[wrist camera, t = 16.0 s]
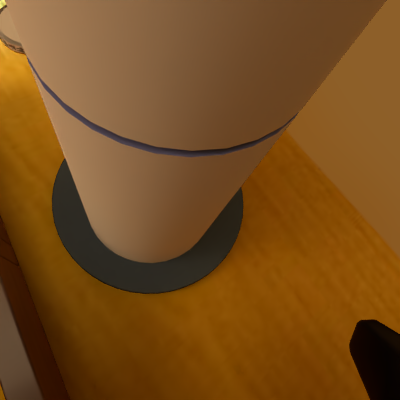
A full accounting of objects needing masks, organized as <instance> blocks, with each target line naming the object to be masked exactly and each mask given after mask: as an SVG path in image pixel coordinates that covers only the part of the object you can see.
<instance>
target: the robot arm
mask: <svg viewBox="0 0 400 400" xmlns="http://www.w3.org/2000/svg"><path fill="white" fill-rule="evenodd" d="M349 348H350V353H351V356H352V358H353V360H354V363H355V365H356V367H357V370H358V372H359V375H360V377H361V379H362V382H363V384H364V386H365V389H366V391H367V393H368V396H369V398H370V400H400V334H398V333H397V332H395V331H393V330H392V329H390V328H389V327H387V326H385V325H384V324H382V323H380V322H379V321H377V320H373V319H371V320H360V321H359V322H358V323H357V324H356V327H355V330H354V332H353V335H352V338H351V340H350V344H349Z"/></svg>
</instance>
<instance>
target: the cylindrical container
mask: <svg viewBox="0 0 400 400" xmlns="http://www.w3.org/2000/svg"><path fill="white" fill-rule="evenodd" d="M5 2H6V4H7V7H8V10H9V12H10V15H11V17H12V20H13V23H14V25H15V28H16V31H17V33H18V36H19V39H20V41H21V44H22V46H23V49H24V52H25V54H26V56H27V59H28V62H29V65H30V67H31V70H32V73H33V75H34V78H35V80H36V83H37V86H38V88H39V91H40V94H41V96H42V99H43V101H44V104H45V107H46V109H47V112H48V114H49V117H50V120H51V122H52V125H53V127H54V130H55V133H56V135H57V138H58V141H59V143H60V146H61V148H62V151H63V154H64V156H65V159H66V161H67V164H68V167H69V169H70V172H71V174H72V177H73V180H74V182H75V185H76V188H77V190H78V193H79V196H80V198H81V201H82V203H83V206H84V209H85V211H86V214H87V217H88V219H89V222H90V225H91V227H92V229H93V230H94V232H95V234H96V236H97V237H98V238H99V240H100V241H101V242H102V243H103V244H104V245H105V246H106V247H107V248H109V249H110V250H111V251H113V252H114V253H115V254H117V255H119V256H121V257H124V258H126V259H129V260H132V261H136V262H143V263H157V262H164V261H168V260H171V259H173V258H176V257H179V256H180V255H182V254H183V253H185V252H187V251H188V250H190V249H191V248H192V247H193V246H194V245H195V244H196V243H197V242H198V241H199V240H200V238H201V237H202V236H203V234H204V233H205V232H206V231H207V229H208V228H209V227H210V225H211V224H212V223H213V222H214V220H215V219H216V218H217V216H218V215H219V214H220V213H221V211H222V210H223V209H224V207H225V206H226V205H227V204H228V202H229V201H230V200H231V199H232V197H233V196H234V195H235V193H236V192H237V191H238V190H239V188H240V187H241V186H242V184H243V183H244V182H245V181H246V179H247V178H248V177H249V176H250V174H251V173H252V172H253V170H254V169H255V168H256V167H257V165H258V164H259V163H260V162H261V160H262V159H263V158H264V156H265V155H266V154H267V153H268V151H269V150H270V149H271V148H272V146H273V145H274V144H275V142H276V141H277V140H278V139H279V137H280V136H281V135H282V133H283V132H284V131H285V130H286V128H287V127H288V126H289V125H290V123H291V122H292V121H293V119H294V118H295V116H296V115H297V114H298V113H299V111H300V110H301V109H302V108H303V107H304V105H305V104H306V103H307V102H308V100H309V99H310V98H311V96H312V95H313V94H314V93H315V91H316V90H317V89H318V87H319V86H320V85H321V84H322V82H323V81H324V80H325V78H326V77H327V76H328V75H329V73H330V72H331V71H332V70H333V68H334V67H335V66H336V64H337V63H338V62H339V61H340V59H341V58H342V56H343V55H344V54H345V53H346V52H347V50H348V49H349V48H350V46H351V45H352V44H353V43H354V41H355V40H356V39H357V37H358V36H359V35H360V33H361V32H362V31H363V30H364V28H365V27H366V26H367V25H368V23H369V22H370V21H371V19H372V18H373V17H374V16H375V14H376V13H377V12H378V11H379V9H380V8H381V7H382V5H383V4H384V3H385V2H386V0H5Z"/></svg>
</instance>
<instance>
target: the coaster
mask: <svg viewBox="0 0 400 400" xmlns="http://www.w3.org/2000/svg"><path fill="white" fill-rule="evenodd" d="M52 211H53V217H54V223H55V226H56V229H57V232H58V235H59V237H60V239H61V241H62V243H63V245H64V247H65V248H66V249H67V251H68V252H69V254H70V255H71V257H72V258H73V259H74V260H75V261H76V262H77V263H78V264H79V265H80V266H81V267H82V268H83V269H84V270H85V271H86V272H88V273H89V274H90V275H92V276H93V277H95V278H96V279H98V280H100V281H101V282H103V283H105V284H107V285H110V286H112V287H115V288H117V289H121V290H125V291H129V292H135V293H143V294H149V293H163V292H170V291H174V290H177V289H181V288H184V287H186V286H188V285H191V284H193V283H195V282H197V281H198V280H200V279H202V278H203V277H205V276H206V275H208V274H209V273H210V272H211V271H212V270H214V269H215V268H216V267H217V266H218V265H219V264H220V263H221V262H222V261H223V260H224V258H225V257H226V256H227V254H228V253H229V251H230V250H231V248H232V246H233V244H234V242H235V240H236V239H237V236H238V233H239V230H240V227H241V222H242V217H243V196H242V190H241V187H240V188H239V190H238V191H237V192H236V193H235V195H234V196H233V197H232V199H231V200H230V201H229V202H228V204H227V205H226V206H225V207H224V209H223V210H222V211H221V213H220V214H219V215H218V216H217V218H216V219H215V220H214V222H213V223H212V224H211V225H210V227H209V228H208V229H207V231H206V232H205V233H204V234H203V236H202V237H201V238H200V240H199V241H198V242H197V243H196V244H195V245H194V246H193V247H192V248H191V249H190V250H188V251H187V252H185V253H183V254H182V255H180V256H179V257H176V258H173V259H171V260H168V261H164V262H157V263H143V262H136V261H132V260H129V259H126V258H124V257H121V256H119V255H117V254H115V253H114V252H113V251H111V250H110V249H109V248H107V247H106V246H105V245H104V244H103V243H102V242H101V241H100V240H99V238H98V237H97V236H96V234H95V232H94V230H93V229H92V227H91V225H90V222H89V219H88V217H87V214H86V211H85V209H84V206H83V203H82V201H81V198H80V196H79V193H78V190H77V188H76V185H75V182H74V180H73V177H72V174H71V172H70V169H69V167H68V164H67V161H66V159H64V161H63V162H62V164H61V166H60V169H59V171H58V173H57V176H56V180H55V183H54V187H53V195H52Z"/></svg>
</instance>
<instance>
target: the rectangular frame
mask: <svg viewBox="0 0 400 400" xmlns="http://www.w3.org/2000/svg"><path fill="white" fill-rule="evenodd" d="M18 266H19V264H18V261H17V259H16V256H15V253H14V251H13V248H12V247H11V243H10V240H9V237H8V235H7V232H6V229H5V227H4V224H3V222H2V219H1V216H0V384H1V387H2V390H3V393H4V396H5V399H6V400H70V398H69V396H68V393H67V390H66V388H65V385H64V383H63V380H62V377H61V375H60V372H59V369H58V367H57V364H56V361H55V359H54V356H53V354H52V351H51V348H50V346H49V343H48V340H47V338H46V335H45V332H44V330H43V327H42V325H41V322H40V319H39V317H38V314H37V311H36V309H35V306H34V303H33V301H32V298H31V296H30V293H29V290H28V288H27V285H26V282H25V280H24V277H23V274H22V272H21V269H20V268H19V267H18Z"/></svg>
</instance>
